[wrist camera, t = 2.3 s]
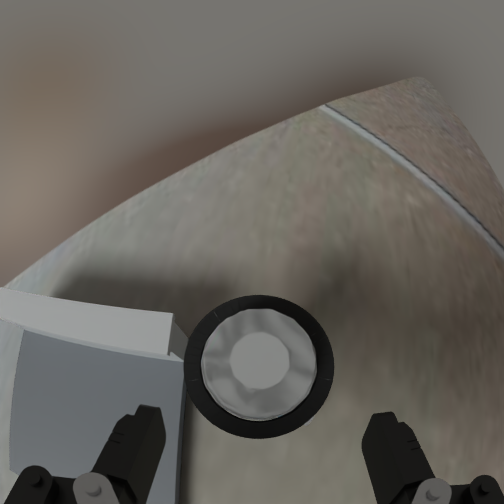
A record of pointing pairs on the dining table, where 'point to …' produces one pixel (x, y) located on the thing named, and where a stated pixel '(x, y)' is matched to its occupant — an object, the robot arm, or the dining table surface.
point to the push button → (258, 366)
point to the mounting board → (92, 383)
